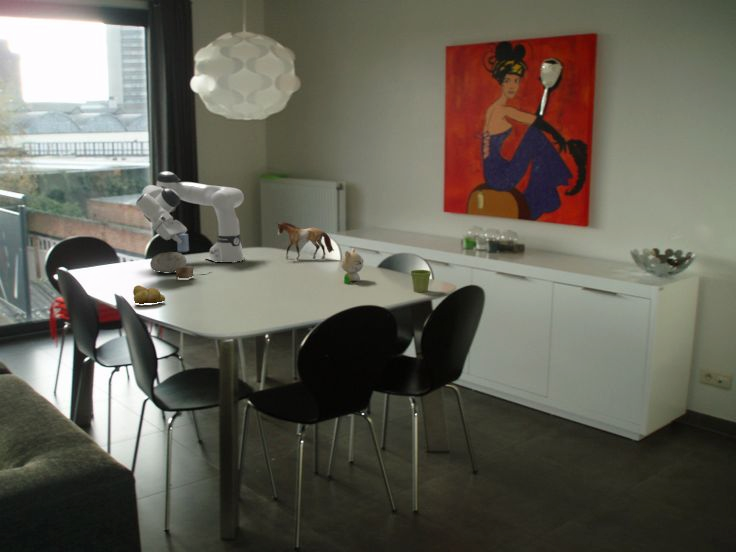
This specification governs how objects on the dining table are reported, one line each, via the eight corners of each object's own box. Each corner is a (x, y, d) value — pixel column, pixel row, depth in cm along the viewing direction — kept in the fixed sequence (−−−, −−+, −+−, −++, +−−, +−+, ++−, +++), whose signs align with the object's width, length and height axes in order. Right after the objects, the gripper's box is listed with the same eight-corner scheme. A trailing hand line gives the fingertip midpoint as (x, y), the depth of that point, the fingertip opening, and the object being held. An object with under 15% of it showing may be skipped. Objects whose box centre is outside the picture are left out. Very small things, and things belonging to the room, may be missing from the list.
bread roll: (166, 301, 339) (165, 283, 338) (163, 306, 330) (162, 287, 328) (135, 303, 337) (133, 284, 336) (131, 308, 328) (130, 289, 326)
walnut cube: (176, 280, 385) (176, 267, 384) (182, 277, 391) (181, 265, 389) (188, 280, 384) (187, 268, 382) (193, 278, 389) (193, 266, 388)
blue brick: (177, 251, 383) (176, 234, 381) (181, 250, 387) (180, 233, 385) (185, 251, 382) (184, 235, 380) (189, 250, 386) (188, 233, 384)
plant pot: (435, 290, 354) (435, 270, 353) (425, 294, 346) (425, 274, 345) (416, 288, 359) (416, 269, 357) (406, 292, 351) (406, 272, 349)
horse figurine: (277, 260, 435) (275, 222, 431) (279, 258, 442) (278, 220, 438) (334, 260, 432) (333, 222, 428) (335, 258, 439) (335, 220, 435)
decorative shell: (143, 274, 400) (142, 254, 398) (163, 268, 417) (162, 249, 415) (175, 276, 395) (173, 256, 393) (193, 269, 411) (192, 250, 409)
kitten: (357, 284, 368) (356, 252, 365) (336, 283, 371) (335, 251, 369) (367, 278, 382) (367, 247, 379) (347, 277, 385) (347, 246, 382)
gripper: (169, 223, 394) (189, 243, 394) (150, 228, 375) (170, 249, 375) (177, 214, 393) (197, 234, 392) (158, 219, 373) (179, 240, 373)
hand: (184, 242), depth 383 cm, fingers closed on blue brick, 4 cm apart
